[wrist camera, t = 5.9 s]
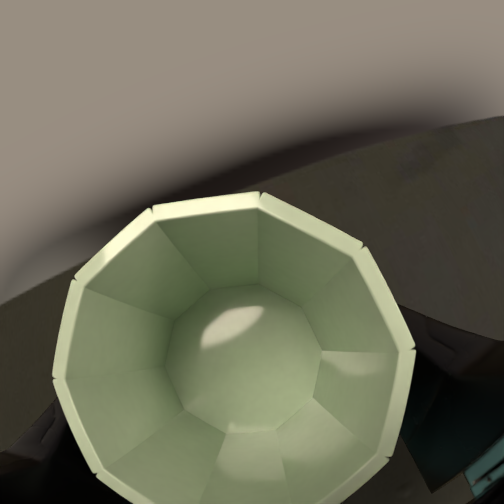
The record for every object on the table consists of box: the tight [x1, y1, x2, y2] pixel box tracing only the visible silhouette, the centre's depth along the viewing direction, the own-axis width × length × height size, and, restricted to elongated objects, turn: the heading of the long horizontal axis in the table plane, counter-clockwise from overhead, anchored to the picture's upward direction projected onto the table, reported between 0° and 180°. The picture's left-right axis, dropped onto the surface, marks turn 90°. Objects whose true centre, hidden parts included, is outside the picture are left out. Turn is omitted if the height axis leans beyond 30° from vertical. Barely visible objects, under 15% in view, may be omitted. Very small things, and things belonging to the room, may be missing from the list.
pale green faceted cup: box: [52, 192, 416, 504], centre depth 8 cm, size 7×7×8 cm
